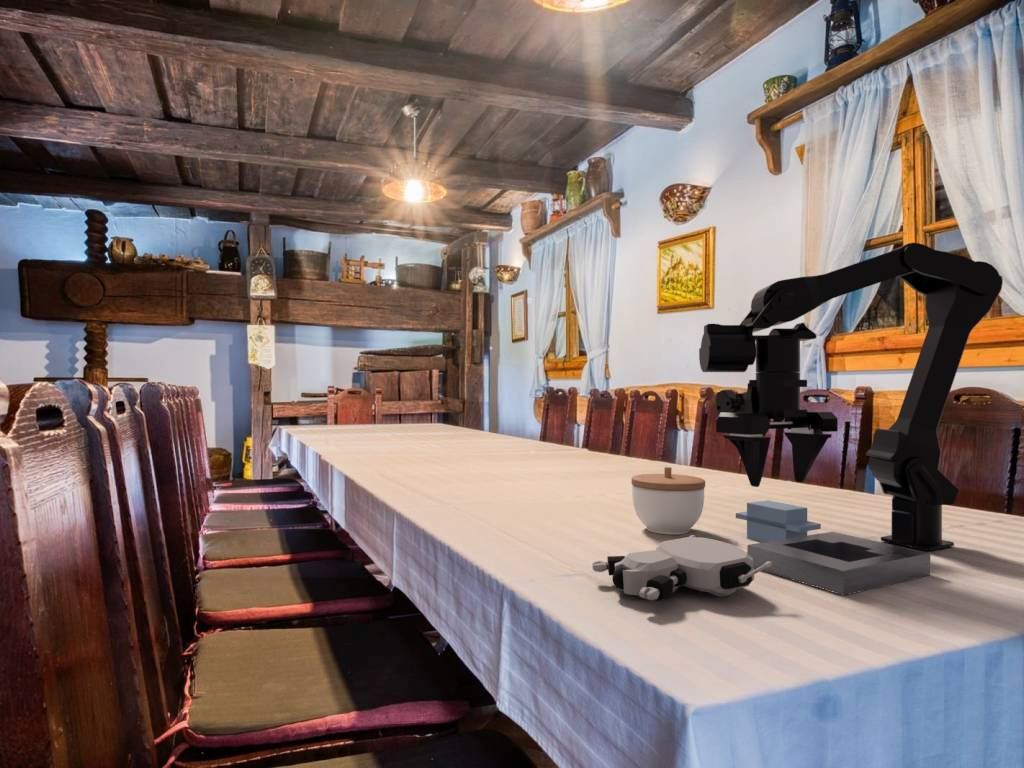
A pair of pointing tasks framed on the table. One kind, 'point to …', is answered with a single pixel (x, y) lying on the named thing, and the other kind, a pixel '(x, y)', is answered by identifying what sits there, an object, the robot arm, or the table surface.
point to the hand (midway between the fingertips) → (777, 484)
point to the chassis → (840, 561)
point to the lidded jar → (668, 501)
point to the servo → (776, 521)
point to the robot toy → (682, 568)
